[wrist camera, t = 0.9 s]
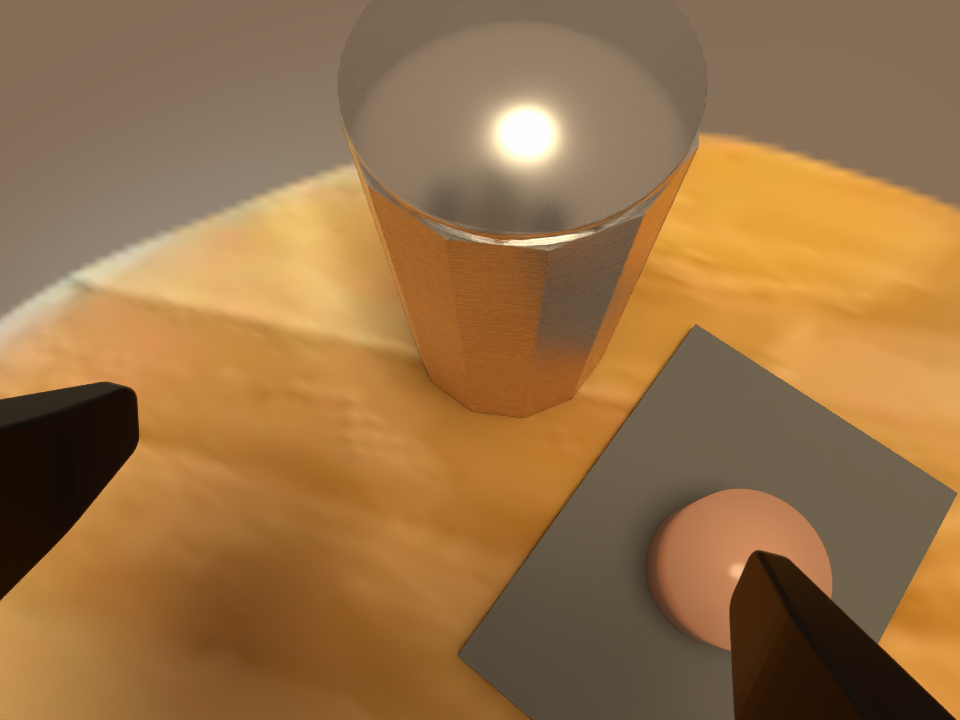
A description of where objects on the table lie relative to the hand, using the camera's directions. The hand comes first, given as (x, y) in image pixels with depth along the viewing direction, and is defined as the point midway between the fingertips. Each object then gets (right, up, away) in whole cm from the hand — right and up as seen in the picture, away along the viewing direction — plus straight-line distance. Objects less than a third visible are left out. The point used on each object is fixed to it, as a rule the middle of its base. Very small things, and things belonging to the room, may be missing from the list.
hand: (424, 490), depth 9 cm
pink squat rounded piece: (+8, -5, +11) cm, 15 cm away
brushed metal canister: (+2, +3, +15) cm, 15 cm away
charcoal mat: (+8, -5, +12) cm, 15 cm away
